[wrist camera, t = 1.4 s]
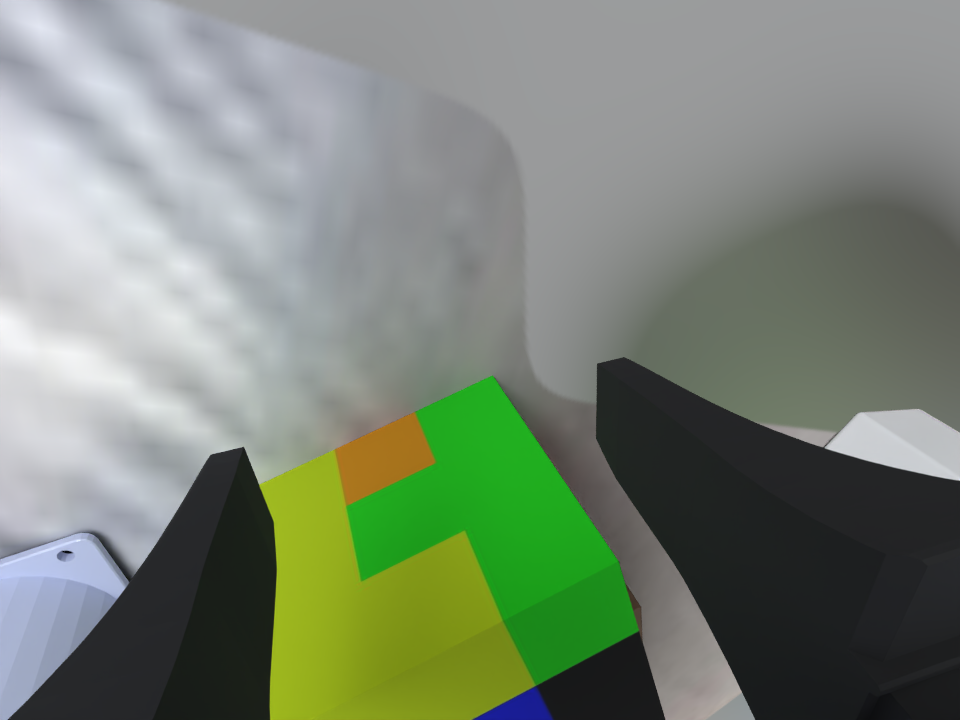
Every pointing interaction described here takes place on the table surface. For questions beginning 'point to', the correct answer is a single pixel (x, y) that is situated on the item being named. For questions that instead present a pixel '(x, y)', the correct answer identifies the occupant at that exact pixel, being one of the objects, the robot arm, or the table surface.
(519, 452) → the puzzle toy
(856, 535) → the robot arm
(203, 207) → the table surface
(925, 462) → the jar
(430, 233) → the table surface
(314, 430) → the table surface
